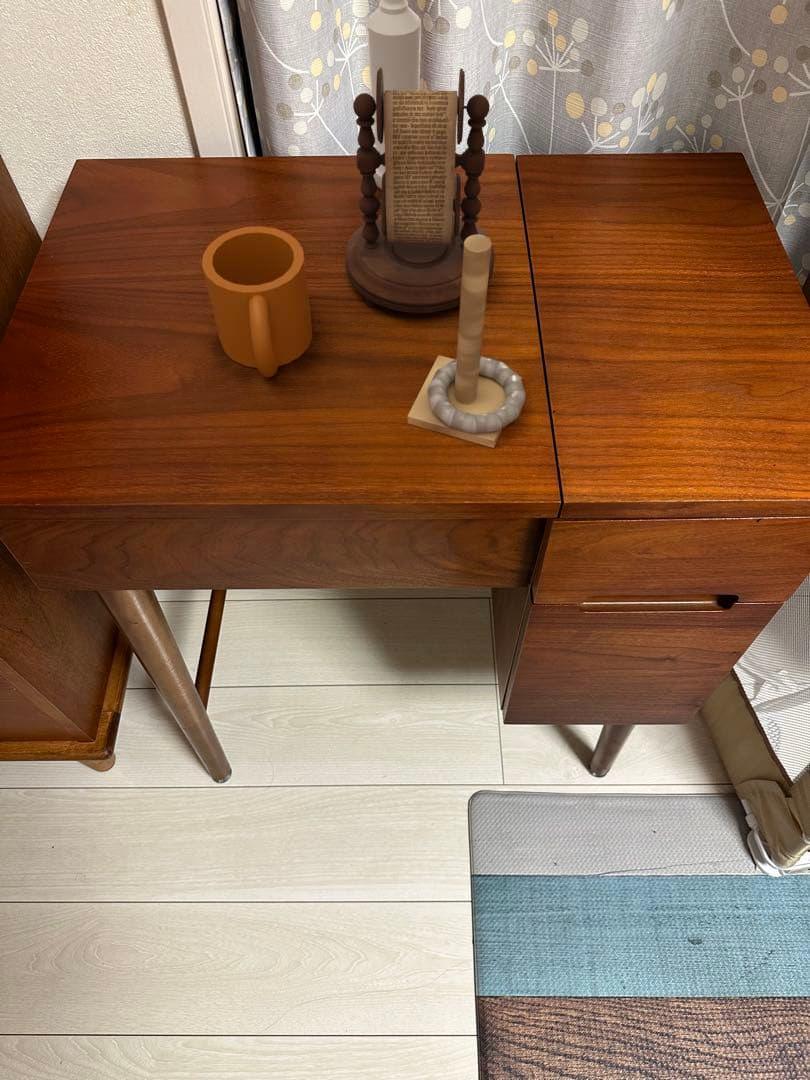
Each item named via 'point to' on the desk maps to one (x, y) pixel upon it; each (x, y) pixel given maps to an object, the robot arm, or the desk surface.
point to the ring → (479, 421)
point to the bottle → (393, 54)
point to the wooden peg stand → (466, 354)
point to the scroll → (416, 197)
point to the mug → (259, 296)
